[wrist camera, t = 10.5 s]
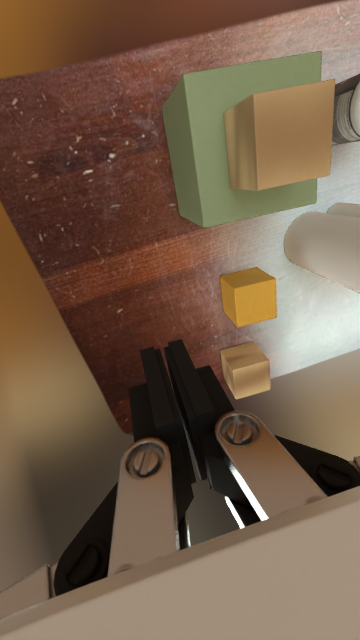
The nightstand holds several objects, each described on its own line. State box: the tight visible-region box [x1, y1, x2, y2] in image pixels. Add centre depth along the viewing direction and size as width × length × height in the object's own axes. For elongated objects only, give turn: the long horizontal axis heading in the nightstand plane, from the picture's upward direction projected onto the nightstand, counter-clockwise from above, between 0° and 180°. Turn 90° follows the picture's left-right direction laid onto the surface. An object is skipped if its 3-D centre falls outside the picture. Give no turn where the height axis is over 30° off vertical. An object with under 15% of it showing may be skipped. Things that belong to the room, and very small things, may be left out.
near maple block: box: [224, 79, 335, 191], centre depth 20 cm, size 5×5×5 cm
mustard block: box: [220, 267, 277, 327], centre depth 36 cm, size 5×5×5 cm
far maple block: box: [220, 342, 270, 399], centre depth 40 cm, size 5×5×5 cm
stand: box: [162, 51, 322, 228], centre depth 26 cm, size 10×10×10 cm
